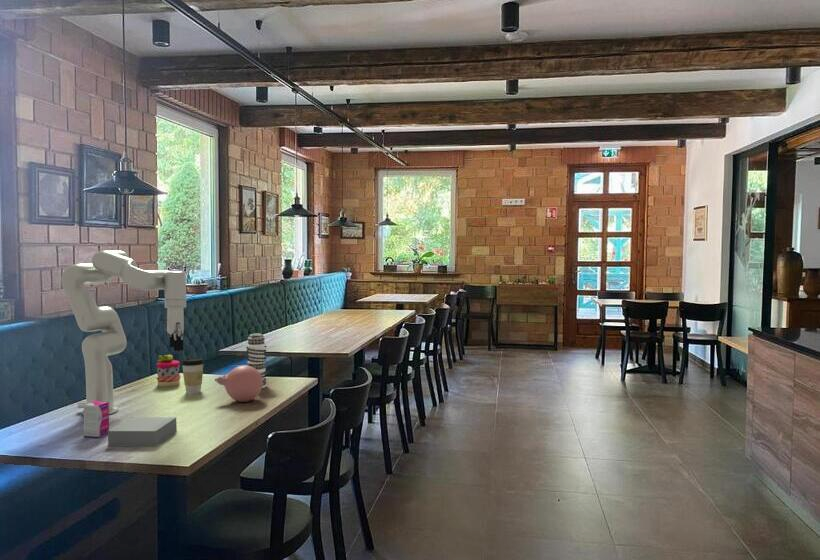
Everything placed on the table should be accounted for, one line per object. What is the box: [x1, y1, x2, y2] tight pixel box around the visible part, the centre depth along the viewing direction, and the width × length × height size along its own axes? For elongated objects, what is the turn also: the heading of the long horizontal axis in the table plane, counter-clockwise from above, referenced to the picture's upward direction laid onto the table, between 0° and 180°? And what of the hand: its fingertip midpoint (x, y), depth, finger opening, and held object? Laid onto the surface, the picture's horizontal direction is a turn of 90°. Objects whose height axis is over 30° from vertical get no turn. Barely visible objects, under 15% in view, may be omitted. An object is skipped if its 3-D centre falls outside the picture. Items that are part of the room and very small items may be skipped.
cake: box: [156, 354, 182, 388], centre depth 284 cm, size 10×11×15 cm
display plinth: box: [107, 416, 178, 447], centre depth 202 cm, size 16×16×5 cm
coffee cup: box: [180, 357, 205, 395], centre depth 268 cm, size 10×10×15 cm
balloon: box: [214, 364, 263, 403], centre depth 252 cm, size 15×20×15 cm
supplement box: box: [83, 401, 110, 439], centre depth 206 cm, size 6×6×12 cm
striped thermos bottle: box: [246, 333, 267, 389], centre depth 278 cm, size 9×9×25 cm
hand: (176, 348), depth 224 cm, fingers open, 9 cm apart
